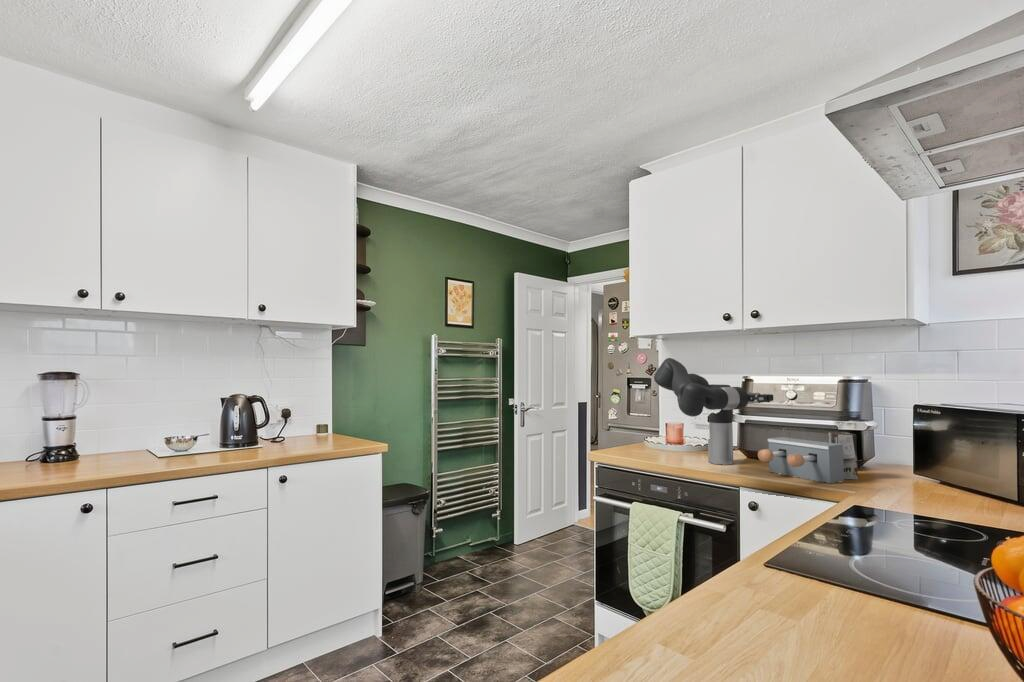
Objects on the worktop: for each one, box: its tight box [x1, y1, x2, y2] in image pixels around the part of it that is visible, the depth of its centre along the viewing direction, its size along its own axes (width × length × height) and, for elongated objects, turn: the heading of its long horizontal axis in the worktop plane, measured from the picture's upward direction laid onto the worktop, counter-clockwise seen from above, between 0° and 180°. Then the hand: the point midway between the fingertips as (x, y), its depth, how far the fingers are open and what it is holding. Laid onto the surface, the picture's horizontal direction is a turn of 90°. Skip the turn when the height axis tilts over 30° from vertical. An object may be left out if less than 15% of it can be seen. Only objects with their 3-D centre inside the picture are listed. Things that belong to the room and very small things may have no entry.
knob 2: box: [787, 453, 817, 467], centre depth 191 cm, size 4×12×4 cm, turn 117°
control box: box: [767, 436, 845, 484], centre depth 200 cm, size 24×8×13 cm, turn 27°
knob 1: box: [757, 448, 787, 463], centre depth 202 cm, size 4×12×4 cm, turn 117°
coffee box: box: [828, 431, 859, 480], centre depth 200 cm, size 9×6×16 cm
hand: (763, 397), depth 187 cm, fingers open, 6 cm apart
